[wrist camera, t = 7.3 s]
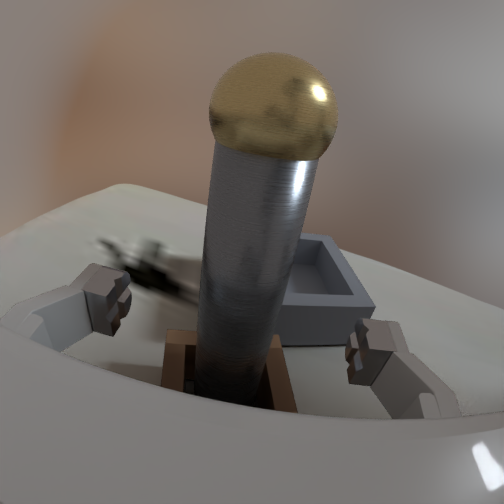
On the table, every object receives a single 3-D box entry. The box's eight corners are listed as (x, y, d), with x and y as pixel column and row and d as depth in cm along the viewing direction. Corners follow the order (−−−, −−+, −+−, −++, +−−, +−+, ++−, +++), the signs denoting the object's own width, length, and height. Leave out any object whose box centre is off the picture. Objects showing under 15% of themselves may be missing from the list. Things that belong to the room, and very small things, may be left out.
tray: (320, 268, 30) (330, 235, 28) (357, 343, 21) (375, 306, 20) (215, 260, 28) (219, 225, 26) (217, 343, 19) (223, 301, 18)
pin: (250, 384, 17) (324, 69, 9) (258, 437, 14) (372, 68, 6) (188, 382, 16) (218, 50, 9) (187, 437, 13) (220, 33, 5)
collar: (268, 368, 18) (278, 334, 17) (285, 455, 13) (301, 429, 12) (168, 364, 17) (167, 329, 16) (162, 455, 12) (157, 429, 11)
